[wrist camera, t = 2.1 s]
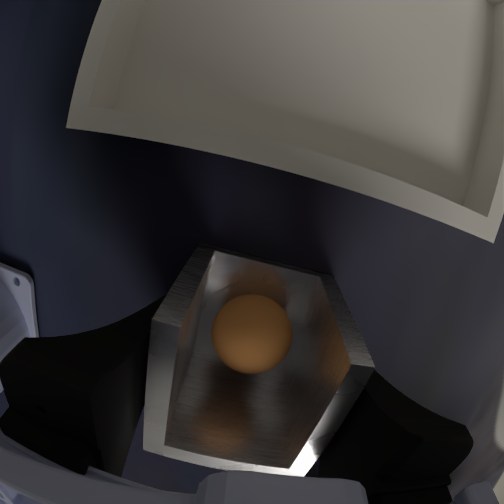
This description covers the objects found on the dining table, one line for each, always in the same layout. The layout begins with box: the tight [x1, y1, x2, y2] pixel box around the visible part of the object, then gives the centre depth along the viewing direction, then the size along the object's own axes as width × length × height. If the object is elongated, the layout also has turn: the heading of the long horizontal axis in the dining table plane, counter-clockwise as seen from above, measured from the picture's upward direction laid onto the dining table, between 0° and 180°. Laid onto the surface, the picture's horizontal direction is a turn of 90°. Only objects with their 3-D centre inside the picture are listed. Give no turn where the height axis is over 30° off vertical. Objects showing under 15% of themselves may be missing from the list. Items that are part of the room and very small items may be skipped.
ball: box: [211, 294, 292, 374], centre depth 12 cm, size 3×3×3 cm
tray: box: [66, 0, 504, 243], centre depth 9 cm, size 16×12×2 cm
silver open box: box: [143, 243, 375, 477], centre depth 11 cm, size 6×6×6 cm
